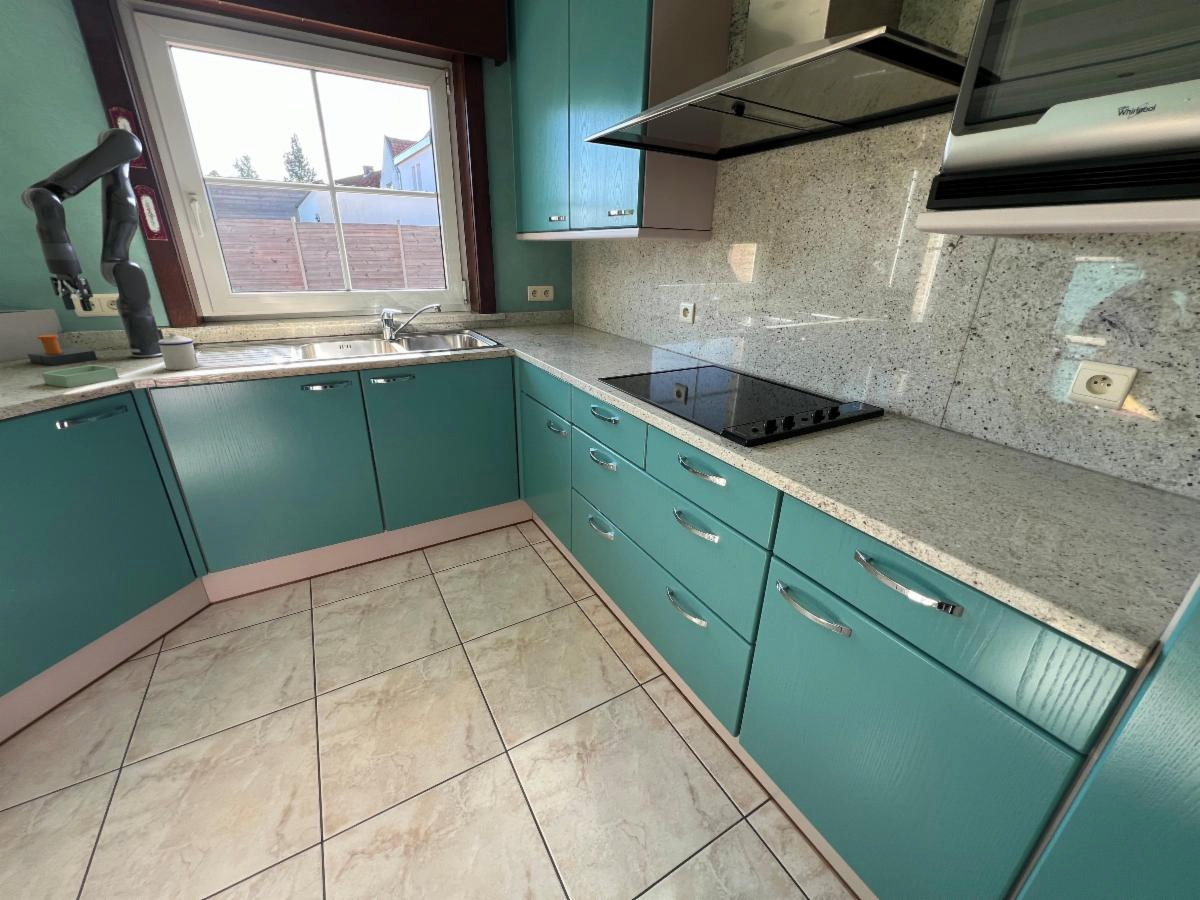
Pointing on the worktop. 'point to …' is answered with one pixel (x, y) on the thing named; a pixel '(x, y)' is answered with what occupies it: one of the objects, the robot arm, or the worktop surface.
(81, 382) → the tray
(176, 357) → the teacup with lid
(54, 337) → the plug
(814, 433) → the worktop surface
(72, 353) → the drain plate
